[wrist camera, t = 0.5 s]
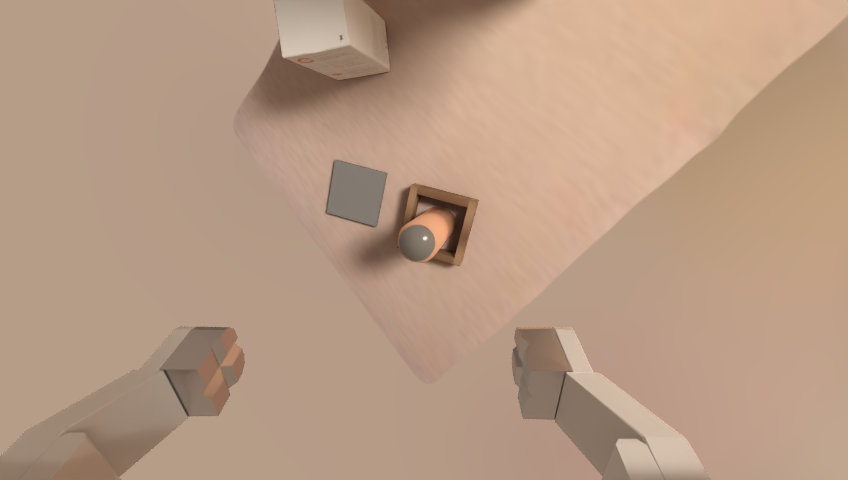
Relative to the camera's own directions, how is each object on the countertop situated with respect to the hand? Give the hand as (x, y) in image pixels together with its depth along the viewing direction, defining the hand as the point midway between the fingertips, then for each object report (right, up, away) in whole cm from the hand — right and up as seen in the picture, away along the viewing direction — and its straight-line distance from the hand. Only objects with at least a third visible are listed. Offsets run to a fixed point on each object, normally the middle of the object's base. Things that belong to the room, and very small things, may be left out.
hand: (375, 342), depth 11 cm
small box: (-7, +29, +40) cm, 50 cm away
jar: (+4, +5, +43) cm, 43 cm away
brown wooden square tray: (+4, +5, +43) cm, 43 cm away
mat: (-9, +10, +45) cm, 46 cm away
